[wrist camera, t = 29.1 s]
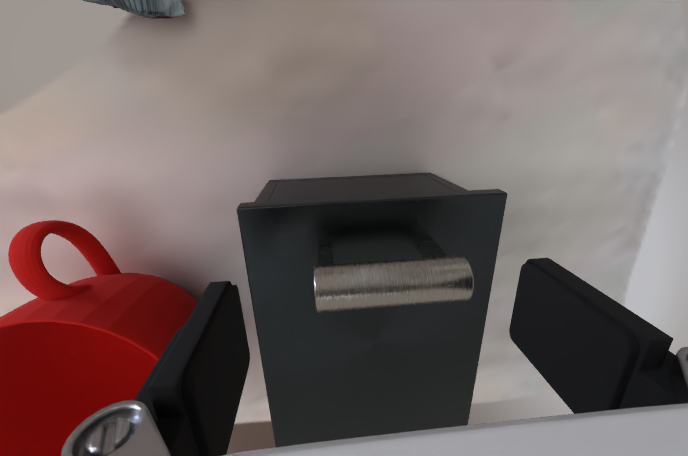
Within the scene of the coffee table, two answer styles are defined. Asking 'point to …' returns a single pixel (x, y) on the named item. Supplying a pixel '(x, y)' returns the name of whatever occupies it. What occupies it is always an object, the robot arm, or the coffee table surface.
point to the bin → (355, 187)
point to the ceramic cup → (77, 341)
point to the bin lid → (370, 309)
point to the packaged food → (148, 7)
